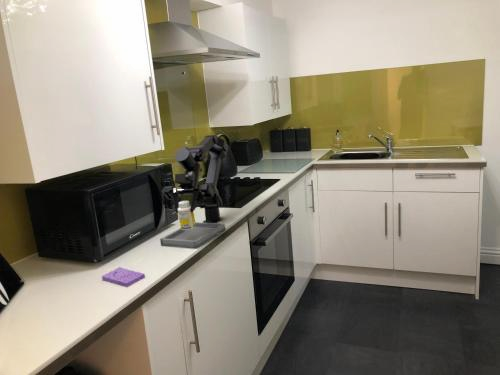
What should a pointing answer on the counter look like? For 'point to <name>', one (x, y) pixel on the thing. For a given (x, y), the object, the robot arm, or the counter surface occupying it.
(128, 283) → the sponges
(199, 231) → the tray
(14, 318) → the counter surface
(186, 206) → the supplement bottle
